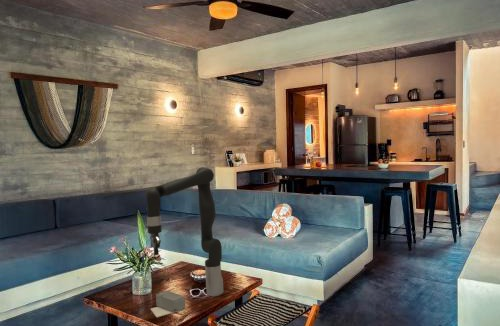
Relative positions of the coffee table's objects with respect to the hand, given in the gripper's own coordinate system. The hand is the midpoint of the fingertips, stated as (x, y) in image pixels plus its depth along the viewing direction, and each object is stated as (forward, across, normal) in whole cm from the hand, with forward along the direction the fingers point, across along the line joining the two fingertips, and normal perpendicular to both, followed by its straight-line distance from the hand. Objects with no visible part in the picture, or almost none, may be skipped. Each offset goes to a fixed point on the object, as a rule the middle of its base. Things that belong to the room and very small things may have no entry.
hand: (156, 254), depth 213 cm
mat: (+29, -9, -1) cm, 30 cm away
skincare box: (+25, 0, -1) cm, 25 cm away
